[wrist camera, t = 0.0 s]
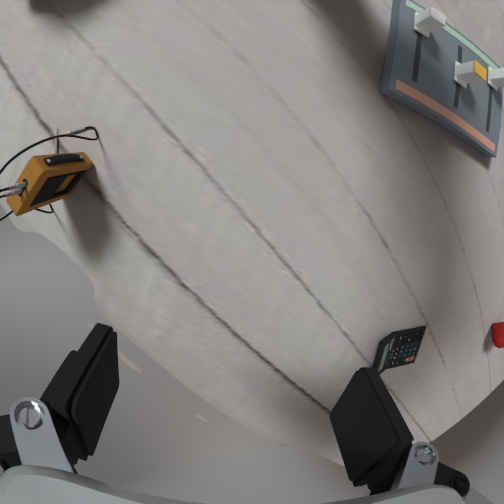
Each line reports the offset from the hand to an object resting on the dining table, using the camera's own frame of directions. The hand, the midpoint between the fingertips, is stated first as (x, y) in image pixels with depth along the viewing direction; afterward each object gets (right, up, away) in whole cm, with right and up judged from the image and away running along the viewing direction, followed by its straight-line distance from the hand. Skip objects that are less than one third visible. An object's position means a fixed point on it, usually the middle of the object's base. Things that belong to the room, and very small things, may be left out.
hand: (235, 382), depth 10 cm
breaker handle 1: (+27, +40, +17) cm, 51 cm away
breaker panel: (+34, +35, +23) cm, 54 cm away
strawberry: (+63, -14, +42) cm, 77 cm away
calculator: (+30, -15, +41) cm, 52 cm away
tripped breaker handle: (+34, +34, +20) cm, 52 cm away
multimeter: (-28, +19, +25) cm, 42 cm away
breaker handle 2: (+44, +36, +19) cm, 61 cm away
